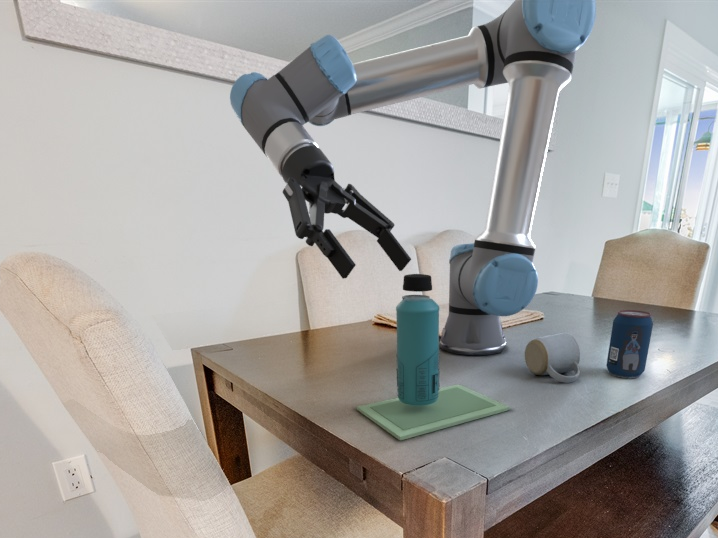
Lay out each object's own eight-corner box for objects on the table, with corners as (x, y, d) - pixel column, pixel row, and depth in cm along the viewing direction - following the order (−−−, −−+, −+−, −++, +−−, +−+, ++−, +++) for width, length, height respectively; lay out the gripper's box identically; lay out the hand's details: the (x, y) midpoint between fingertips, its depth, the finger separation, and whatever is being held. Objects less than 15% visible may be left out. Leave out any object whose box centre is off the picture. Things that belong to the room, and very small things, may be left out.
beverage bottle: (437, 416, 68) (440, 277, 61) (392, 414, 69) (390, 276, 61) (440, 400, 74) (443, 272, 67) (399, 398, 75) (398, 271, 67)
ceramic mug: (520, 370, 92) (523, 332, 89) (552, 365, 95) (557, 328, 92) (554, 387, 83) (560, 345, 80) (589, 381, 86) (596, 341, 83)
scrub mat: (458, 387, 82) (458, 383, 82) (509, 410, 72) (509, 406, 72) (357, 410, 72) (357, 405, 72) (400, 440, 62) (400, 436, 62)
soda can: (625, 367, 94) (635, 308, 90) (651, 377, 88) (663, 314, 84) (597, 370, 92) (606, 310, 88) (622, 381, 86) (633, 317, 82)
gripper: (344, 188, 84) (411, 277, 82) (222, 176, 65) (307, 294, 62) (365, 153, 80) (437, 247, 77) (241, 130, 60) (333, 254, 58)
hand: (379, 268), depth 70 cm, fingers open, 13 cm apart
